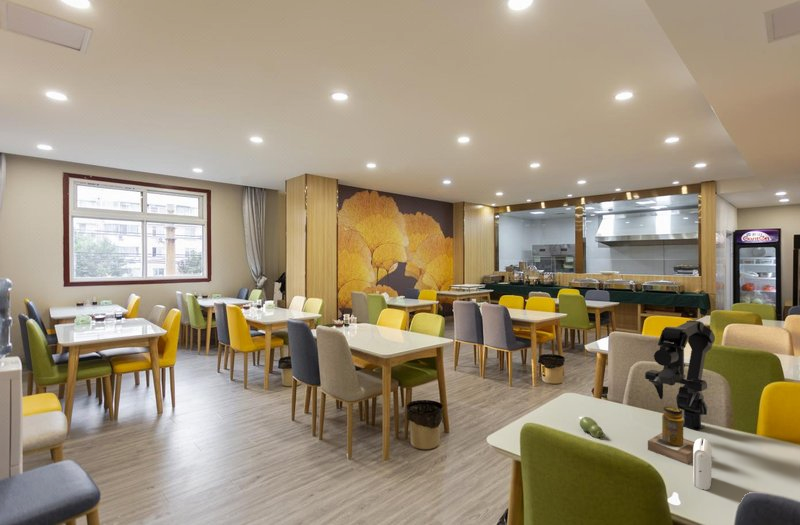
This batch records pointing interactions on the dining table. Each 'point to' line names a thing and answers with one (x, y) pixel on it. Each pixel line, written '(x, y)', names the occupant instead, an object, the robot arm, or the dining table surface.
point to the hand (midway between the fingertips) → (674, 402)
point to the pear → (591, 427)
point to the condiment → (672, 428)
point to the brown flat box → (680, 455)
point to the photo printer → (702, 464)
